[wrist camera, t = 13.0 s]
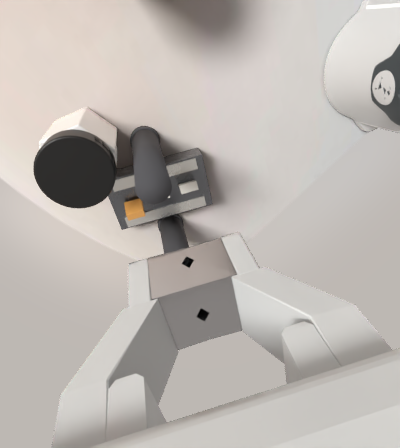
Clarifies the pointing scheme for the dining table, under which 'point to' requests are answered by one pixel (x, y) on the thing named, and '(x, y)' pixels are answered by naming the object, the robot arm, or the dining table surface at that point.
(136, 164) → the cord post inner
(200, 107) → the dining table surface
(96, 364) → the robot arm
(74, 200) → the jar
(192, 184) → the white block
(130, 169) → the breaker panel
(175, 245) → the cord post outer
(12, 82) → the dining table surface
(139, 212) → the tripped paddle
